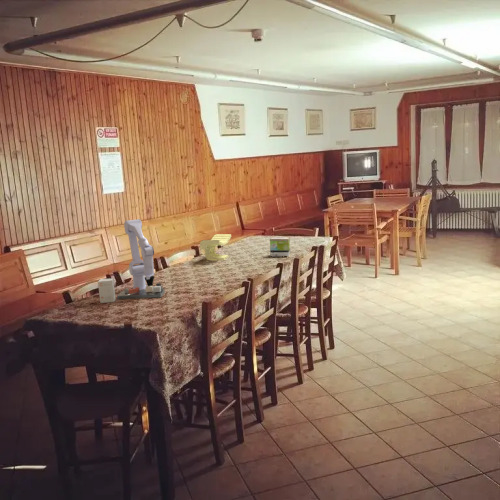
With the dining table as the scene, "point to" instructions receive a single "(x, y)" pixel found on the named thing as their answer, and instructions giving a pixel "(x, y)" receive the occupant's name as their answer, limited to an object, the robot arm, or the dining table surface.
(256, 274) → the dining table surface
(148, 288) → the cream block
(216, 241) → the slatted curved stool
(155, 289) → the grey block
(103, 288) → the small box
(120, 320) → the dining table surface
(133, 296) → the console
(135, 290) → the red lever
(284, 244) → the tea box
